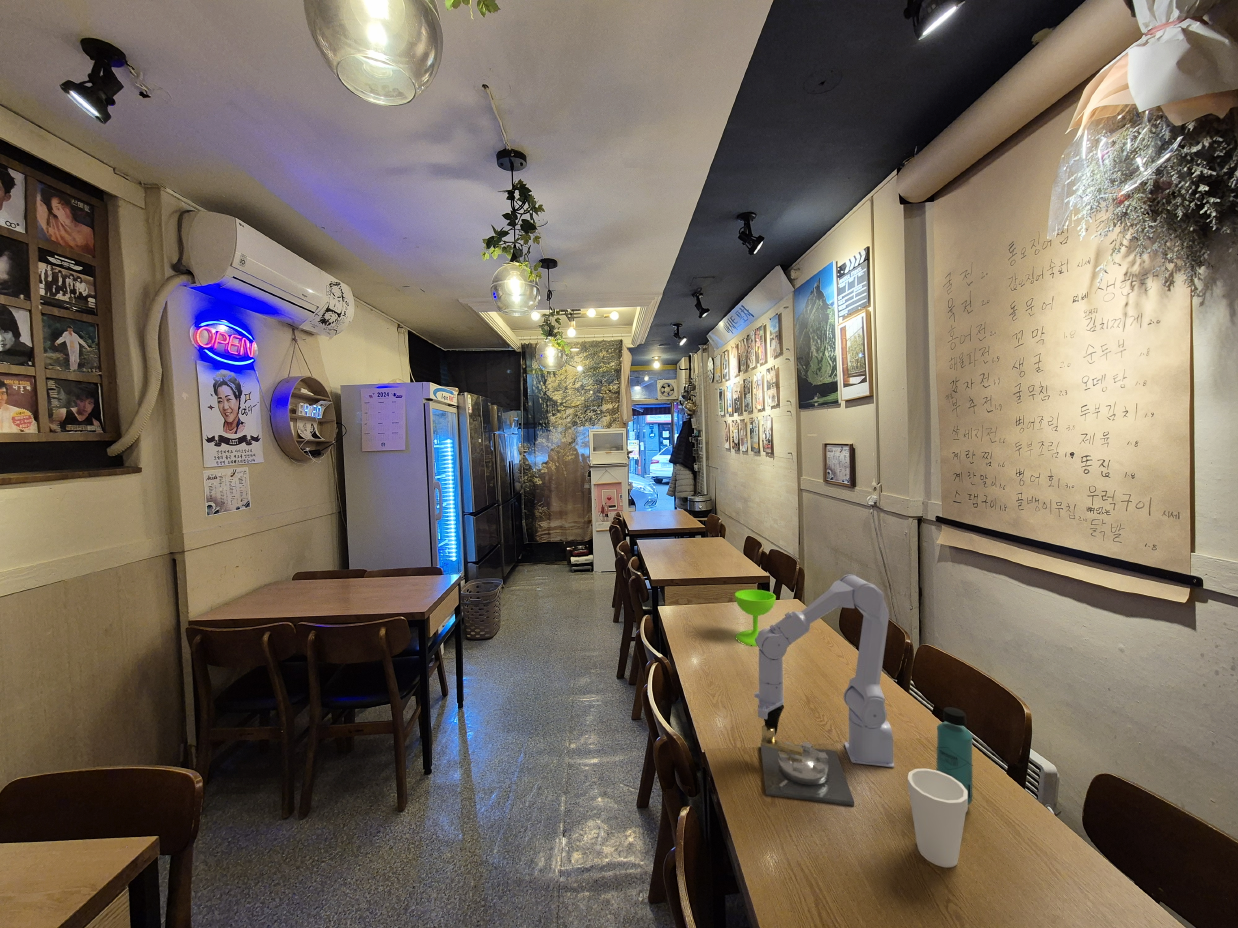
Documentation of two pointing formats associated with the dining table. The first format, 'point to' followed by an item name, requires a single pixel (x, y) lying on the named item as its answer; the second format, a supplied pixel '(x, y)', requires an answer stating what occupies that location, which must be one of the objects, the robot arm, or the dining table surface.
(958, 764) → the beverage bottle
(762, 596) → the wineglass
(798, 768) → the metal round piece
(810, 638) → the dining table surface
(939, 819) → the foam cup
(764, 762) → the dark grey square plate
